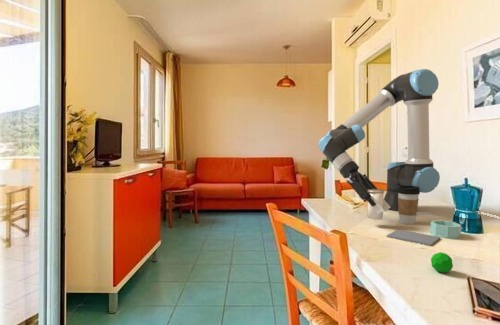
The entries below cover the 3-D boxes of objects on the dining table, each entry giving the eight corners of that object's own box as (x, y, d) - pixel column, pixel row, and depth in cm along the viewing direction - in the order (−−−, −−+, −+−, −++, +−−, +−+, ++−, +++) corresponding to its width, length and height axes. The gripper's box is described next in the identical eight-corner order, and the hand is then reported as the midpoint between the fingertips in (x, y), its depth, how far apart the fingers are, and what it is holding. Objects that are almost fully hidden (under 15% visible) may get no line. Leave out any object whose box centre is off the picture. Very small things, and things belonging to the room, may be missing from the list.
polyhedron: (444, 276, 81) (445, 258, 81) (426, 269, 86) (426, 251, 86) (456, 273, 84) (457, 255, 83) (438, 266, 88) (439, 249, 88)
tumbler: (370, 215, 133) (371, 188, 132) (385, 217, 129) (386, 190, 128) (364, 217, 129) (365, 190, 128) (379, 220, 125) (380, 191, 124)
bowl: (434, 230, 124) (435, 219, 124) (462, 235, 118) (463, 223, 117) (427, 235, 117) (428, 223, 117) (456, 241, 111) (457, 228, 111)
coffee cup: (421, 225, 130) (423, 188, 129) (398, 224, 132) (400, 187, 131) (415, 220, 138) (416, 185, 137) (393, 219, 140) (395, 184, 139)
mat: (398, 230, 123) (398, 229, 123) (440, 238, 113) (440, 237, 113) (386, 236, 115) (386, 235, 115) (430, 246, 105) (430, 244, 105)
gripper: (350, 170, 145) (387, 212, 135) (328, 173, 132) (367, 220, 122) (362, 158, 141) (400, 201, 131) (340, 161, 128) (382, 208, 117)
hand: (384, 210), depth 126 cm, fingers closed on tumbler, 6 cm apart
